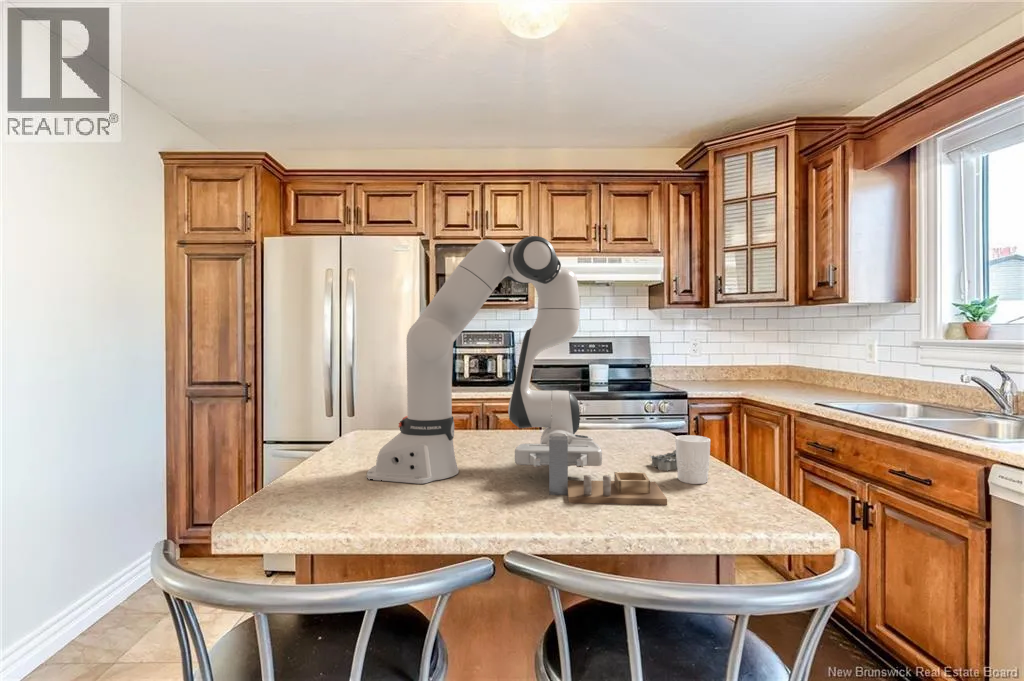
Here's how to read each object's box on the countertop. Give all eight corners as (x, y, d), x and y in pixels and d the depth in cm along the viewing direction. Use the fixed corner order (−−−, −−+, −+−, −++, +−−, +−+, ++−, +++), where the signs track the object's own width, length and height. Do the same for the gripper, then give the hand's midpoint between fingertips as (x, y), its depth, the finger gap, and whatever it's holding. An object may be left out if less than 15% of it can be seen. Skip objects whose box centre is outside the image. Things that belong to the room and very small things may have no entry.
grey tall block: (549, 494, 110) (549, 439, 110) (549, 489, 114) (549, 436, 114) (567, 495, 110) (567, 440, 110) (567, 489, 114) (567, 436, 114)
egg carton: (685, 463, 138) (685, 448, 138) (699, 470, 130) (699, 454, 130) (648, 464, 136) (648, 449, 136) (660, 472, 128) (660, 456, 128)
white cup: (715, 485, 117) (715, 441, 117) (681, 485, 117) (681, 442, 117) (703, 475, 125) (703, 435, 124) (671, 475, 125) (671, 435, 125)
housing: (568, 502, 105) (568, 477, 105) (566, 485, 117) (566, 462, 117) (667, 504, 104) (667, 479, 103) (655, 486, 116) (655, 464, 115)
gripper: (515, 435, 126) (511, 448, 112) (598, 436, 125) (604, 449, 111) (515, 461, 126) (511, 476, 112) (598, 462, 125) (604, 478, 111)
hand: (558, 463), depth 112 cm, fingers open, 8 cm apart
